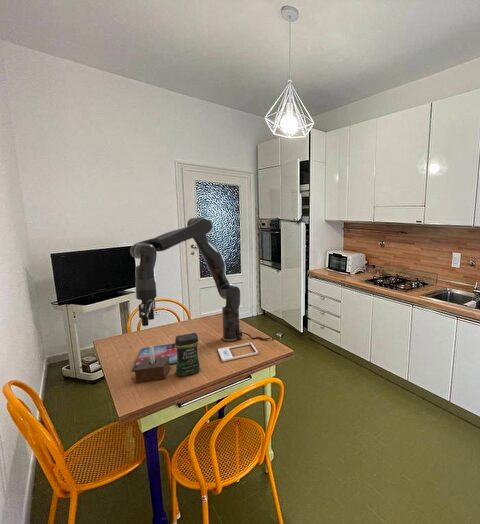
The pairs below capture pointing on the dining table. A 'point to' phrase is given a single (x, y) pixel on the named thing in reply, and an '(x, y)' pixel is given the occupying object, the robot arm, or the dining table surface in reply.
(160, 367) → the holder
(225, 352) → the photo frame
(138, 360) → the tablet
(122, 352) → the dining table surface
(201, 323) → the dining table surface
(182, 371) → the coffee jar
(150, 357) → the stylus
